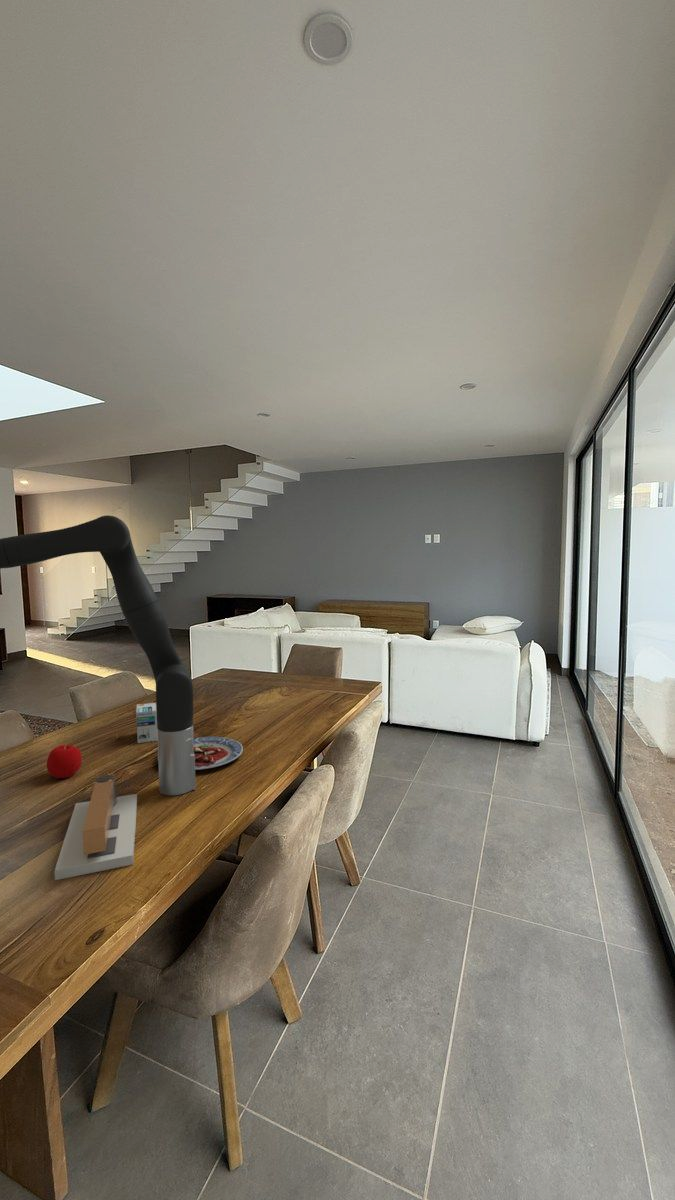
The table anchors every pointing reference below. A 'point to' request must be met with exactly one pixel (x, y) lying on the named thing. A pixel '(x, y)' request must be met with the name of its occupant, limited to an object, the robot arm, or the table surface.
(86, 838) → the swing arm
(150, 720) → the light bulb box
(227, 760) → the ceramic plate
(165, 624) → the robot arm
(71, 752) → the fruit
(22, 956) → the table surface
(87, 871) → the label board
